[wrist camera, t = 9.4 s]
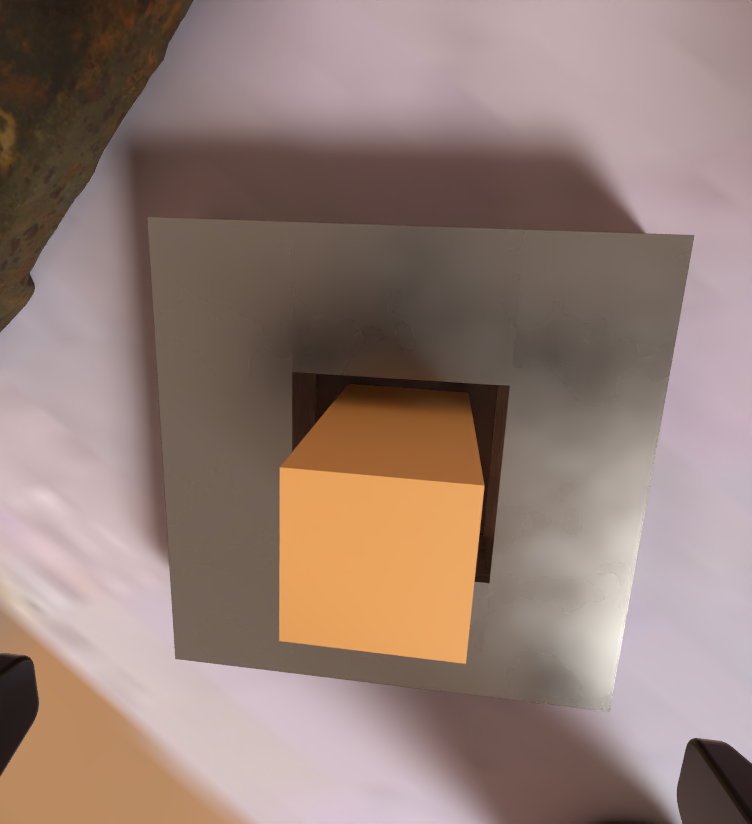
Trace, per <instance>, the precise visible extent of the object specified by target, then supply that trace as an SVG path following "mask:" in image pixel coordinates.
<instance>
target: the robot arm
mask: <svg viewBox="0 0 752 824" xmlns="http://www.w3.org/2000/svg"><path fill="white" fill-rule="evenodd" d="M38 707H39V698H38V691H37V684H36V677H35V670H34V664H33V661H32V660H31V659H30V657H28V656H25V655H17V654H10V653H1V654H0V776H1V775H2V773H3V771H4V770H5V768H6V767H7V765H8V763H9V762H10V760H11V758H12V756H13V755H14V753H15V752H16V750H17V748H18V747H19V745H20V744H21V742H22V740H23V739H24V737H25V735H26V734H27V732H28V730H29V729H30V727H31V726H32V724H33V722H34V720H35V718H36V715H37V712H38ZM677 802H678V808H679V813H680V816H681V820H682V823H683V824H752V763H750V762H749V761H748V760H747V759H746V758H745V757H743V756H742V755H741V754H740V753H739V752H738V751H736V750H735V749H734V748H733V747H731V746H730V745H729V744H727V743H725V742H722V741H716V740H708V739H700V738H694V739H691V740H690V741H689V742H688V744H687V747H686V750H685V755H684V759H683V764H682V768H681V773H680V777H679V781H678V786H677Z"/></svg>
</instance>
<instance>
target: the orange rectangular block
mask: <svg viewBox="0 0 752 824" xmlns="http://www.w3.org/2000/svg"><path fill="white" fill-rule="evenodd" d="M483 495H484V480H483V474H482V468H481V462H480V456H479V450H478V445H477V439H476V433H475V427H474V421H473V415H472V409H471V404H470V398H469V393H464V392H450V391H436V390H422V389H408V388H395V387H381V386H367V385H353V384H348V385H347V386H346V387H345V388H344V390H343V391H342V392H341V393H340V395H339V396H338V397H337V398H336V399H335V401H334V402H333V403H332V404H331V406H330V407H329V408H328V409H327V410H326V412H325V413H324V414H323V415H322V416H321V418H320V419H319V420H318V421H317V423H316V424H315V425H314V426H313V427H312V429H311V430H310V431H309V432H308V434H307V435H306V436H305V437H304V438H303V440H302V441H301V442H300V443H299V444H298V446H297V447H296V448H295V449H294V451H293V452H292V453H291V454H290V455H289V457H288V458H287V459H286V460H285V462H284V463H283V464H282V465H281V466H280V561H279V641H283V642H292V643H300V644H308V645H316V646H324V647H332V648H341V649H349V650H357V651H365V652H373V653H381V654H390V655H398V656H406V657H414V658H422V659H430V660H439V661H447V662H455V663H463V664H466V658H467V648H468V639H469V629H470V619H471V610H472V600H473V591H474V581H475V572H476V562H477V552H478V543H479V533H480V524H481V514H482V505H483Z"/></svg>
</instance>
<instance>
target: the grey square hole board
mask: <svg viewBox="0 0 752 824" xmlns="http://www.w3.org/2000/svg"><path fill="white" fill-rule="evenodd" d="M147 221H148V236H149V252H150V268H151V283H152V299H153V315H154V331H155V346H156V362H157V378H158V393H159V409H160V425H161V440H162V456H163V472H164V487H165V503H166V519H167V534H168V550H169V566H170V582H171V597H172V613H173V629H174V644H175V659H181V660H189V661H197V662H205V663H214V664H222V665H230V666H238V667H246V668H255V669H263V670H271V671H279V672H288V673H296V674H304V675H312V676H320V677H329V678H337V679H345V680H353V681H361V682H370V683H378V684H386V685H394V686H403V687H411V688H419V689H427V690H435V691H444V692H452V693H460V694H468V695H476V696H485V697H493V698H501V699H509V700H517V701H526V702H534V703H542V704H550V705H559V706H567V707H575V708H583V709H591V710H600V711H608V712H609V711H610V706H611V700H612V695H613V689H614V683H615V678H616V672H617V666H618V661H619V655H620V650H621V644H622V638H623V633H624V627H625V622H626V616H627V610H628V605H629V599H630V594H631V588H632V582H633V577H634V571H635V565H636V560H637V554H638V549H639V543H640V537H641V532H642V526H643V521H644V515H645V509H646V504H647V498H648V493H649V487H650V481H651V476H652V470H653V464H654V459H655V453H656V448H657V442H658V436H659V431H660V425H661V420H662V414H663V408H664V403H665V397H666V392H667V386H668V380H669V375H670V369H671V363H672V358H673V352H674V347H675V341H676V335H677V330H678V324H679V319H680V313H681V307H682V302H683V296H684V291H685V285H686V279H687V274H688V268H689V262H690V257H691V251H692V246H693V240H694V235H673V234H643V233H613V232H583V231H553V230H523V229H493V228H463V227H433V226H403V225H373V224H343V223H313V222H283V221H253V220H223V219H193V218H163V217H147ZM316 374H331V375H347V376H363V377H379V378H394V379H410V380H426V381H442V382H458V383H474V384H490V385H498V390H497V401H496V411H495V421H494V431H493V441H492V452H491V462H490V472H489V482H488V493H487V503H486V513H485V523H484V534H483V536H479V543H478V552H477V562H476V572H475V581H474V591H473V600H472V610H471V619H470V629H469V639H468V648H467V658H466V664H463V663H455V662H447V661H439V660H430V659H422V658H414V657H406V656H398V655H390V654H381V653H373V652H365V651H357V650H349V649H341V648H332V647H324V646H316V645H308V644H300V643H292V642H283V641H279V561H280V466H281V465H282V464H283V463H284V462H285V460H286V459H287V458H288V457H289V455H290V454H291V453H292V452H293V451H294V449H295V448H296V447H297V446H298V444H299V443H300V442H301V441H302V440H303V438H304V437H305V436H306V435H307V434H308V432H309V431H310V430H311V429H312V427H313V426H314V425H315V411H316Z"/></svg>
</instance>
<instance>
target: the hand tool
mask: <svg viewBox="0 0 752 824" xmlns="http://www.w3.org/2000/svg"><path fill="white" fill-rule="evenodd" d="M192 1H193V0H0V332H1V331H2V330H3V329H4V328H5V327H6V325H8V324H9V323H10V322H11V320H12V319H13V318H14V317H15V316H16V315H17V314H18V313H19V312H20V310H21V309H22V308H23V307H24V306H25V305H26V304H27V302H28V301H29V299H30V298H31V296H32V295H33V293H34V290H35V286H34V282H33V280H32V278H31V276H30V271H31V270H32V268H33V267H34V265H35V263H36V261H37V259H38V257H39V255H40V253H41V251H42V249H43V248H44V246H45V245H46V243H47V242H48V240H49V239H50V237H51V236H52V234H53V233H54V231H55V230H56V229H57V227H58V225H59V223H60V222H61V220H62V218H63V217H64V215H65V214H66V212H67V211H68V209H69V207H70V206H71V204H72V203H73V201H74V200H75V198H76V197H77V196H78V195H79V194H80V193H81V192H82V190H83V189H84V188H85V186H86V184H87V183H88V182H89V180H90V178H91V177H92V175H93V173H94V172H95V169H96V166H97V164H98V161H99V159H100V157H101V155H102V153H103V151H104V149H105V147H106V146H107V144H108V142H109V141H110V139H111V138H112V136H113V135H114V133H115V131H116V130H117V128H118V126H119V125H120V123H121V121H122V119H123V118H124V116H125V115H126V113H127V112H128V111H129V109H130V108H131V106H132V105H133V103H134V102H135V100H136V99H137V97H138V96H139V95H140V94H141V92H142V91H143V89H144V87H145V85H146V84H147V82H148V80H149V78H150V76H151V75H152V74H153V72H154V71H155V70H156V69H157V67H158V66H159V65H160V63H161V62H162V61H163V59H164V56H165V53H166V49H167V46H168V43H169V41H170V40H171V38H172V36H173V35H174V33H175V31H176V30H177V28H178V26H179V24H180V22H181V21H182V19H183V18H184V17H185V15H186V13H187V11H188V9H189V7H190V5H191V3H192Z"/></svg>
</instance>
